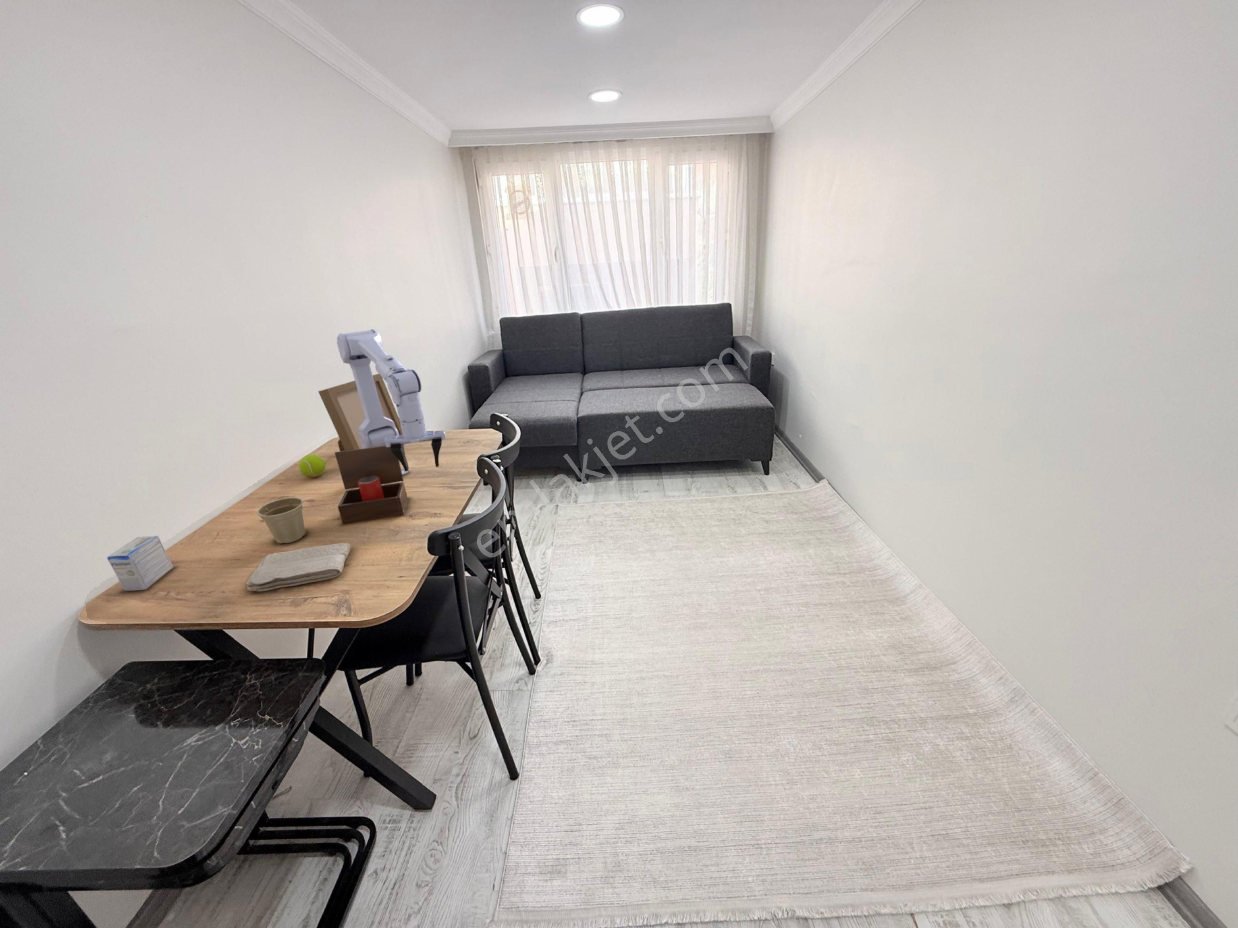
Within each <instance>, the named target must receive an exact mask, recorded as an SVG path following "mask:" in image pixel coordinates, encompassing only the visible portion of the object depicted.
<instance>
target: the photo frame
mask: <svg viewBox="0 0 1238 928" xmlns="http://www.w3.org/2000/svg"><path fill="white" fill-rule="evenodd" d="M372 376H373V379H374V383H375V387H376V390H377V394H378V398H379V401H380V405H381V409H382V412H383V416H384V417H386V418H389V419H391V420H392V421H393V422H394V424H395V427H396V429H397V431H398V433H399V435H402V434H403V433H402V429H401V424H400V420H399V415H398V411H397V409H396V408H395V407H396V406H395V405H394V402H393V399H392V397H391V394H390V392H389V389H388V387H387V385H386V383H385V380H384V379H383V378H382V377H381V376H380V374H379V373H375V374H372ZM318 394H319V396H320V398H321V401H322V403H323V405H324V407H325V410H326V412H327V414H328V417H329V419H330V420H331V423H332V425H333V427H334V429H335V431H336V434H337V436H338V438H339V439H338V441H337V446H338V450H339V452H340V451H348V450H355V449H363V447H362V445H361V443H360V440H359V431H358V427H359V426H360V425H361V424H362V423H363V421H364V420H365V419H366V418H365V414H364V411H363V407H362V404H361V400H360V397H359V393H358V390H357V386H356V382H355V380H352V381H348V382H345V383H341V384H338V385H336V386H332V387H331V386H330V387H327V388H324V389H322V390H319V391H318Z"/></svg>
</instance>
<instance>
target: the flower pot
mask: <svg viewBox="0 0 1238 928" xmlns="http://www.w3.org/2000/svg"><path fill="white" fill-rule="evenodd" d="M303 507H304V499H302V498H301V497H295V496H292V497H283V498H279V499H276V500H273V501H272V500H271V501H270V502H267V503H265V504H263V505H262V506H260V507H259V508H258V509H257V510H256V515H257V516H258V517H260V518H261V520H262V521H263V522H264V523H265V524H266V527H267V528H268V529H269V532H270V534H271V535H272V536H273V538H274V540H275V542H276V543H277V544H284V543H285V544H290V543H293V542H296V541H299V540H300V539H302V538H303V536H305V535H306V528H305V522H304V514H303Z"/></svg>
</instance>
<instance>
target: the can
mask: <svg viewBox="0 0 1238 928" xmlns="http://www.w3.org/2000/svg"><path fill="white" fill-rule="evenodd" d="M357 483H358V486H359V488H358V489H359V490H360V494H361V497H362V501H369V500H376V499H382V498H384V494H383V490H382V486H381V485H382V484H381V482H380V478H379V477H378V476H375V475H370V476H365V477H363V478H361V479H359V480H358V482H357Z"/></svg>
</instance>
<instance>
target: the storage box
mask: <svg viewBox="0 0 1238 928" xmlns="http://www.w3.org/2000/svg"><path fill="white" fill-rule="evenodd" d="M381 486H382V490H383V494H384V498H382V499H376V500H369V501H362V497H361V494H360V490H359V488H352V489H345V491H344V493H343V495H342V497H341V499H340V501H339V502H338V505H337V510H338V513H339V516H340V519H341V523H342V525H343V526H344V525H350V524H357V523H362V522H369V521H375V520H381V519H388V518H394V517H400V516H405V512H406V509H407V504H408V500H409V497H408V493H407V490H406V486H405V482H404V481H401V482H394V483H387V484H381Z"/></svg>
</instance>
